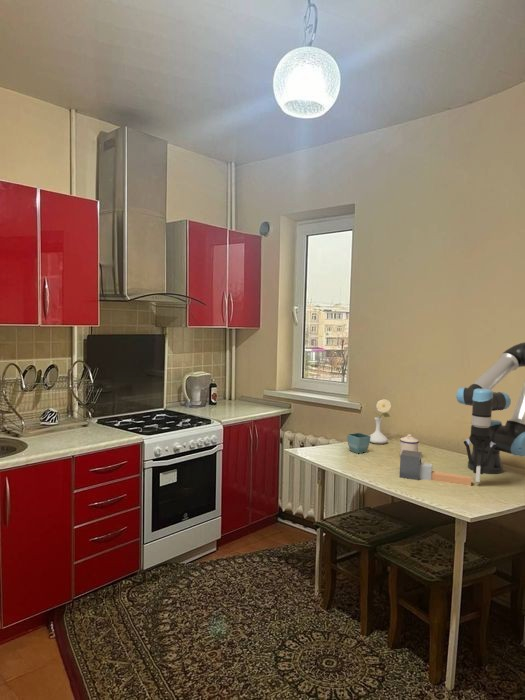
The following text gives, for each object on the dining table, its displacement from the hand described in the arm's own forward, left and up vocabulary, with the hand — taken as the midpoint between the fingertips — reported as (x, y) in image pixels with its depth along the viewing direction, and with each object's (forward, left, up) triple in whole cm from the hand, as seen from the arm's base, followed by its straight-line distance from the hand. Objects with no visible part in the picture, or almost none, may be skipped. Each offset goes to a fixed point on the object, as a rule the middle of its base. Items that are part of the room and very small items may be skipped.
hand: (477, 481), depth 213 cm
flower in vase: (+50, -54, -2) cm, 74 cm away
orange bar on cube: (+13, 0, -2) cm, 14 cm away
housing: (+27, 0, -2) cm, 27 cm away
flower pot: (+56, -28, -2) cm, 63 cm away
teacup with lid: (+32, -32, -2) cm, 46 cm away
